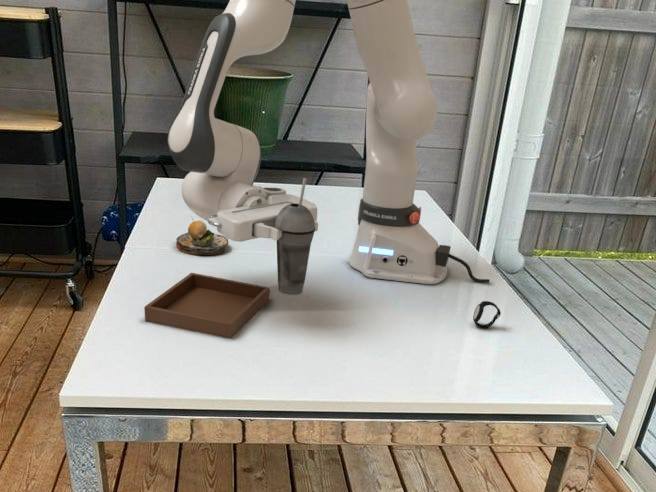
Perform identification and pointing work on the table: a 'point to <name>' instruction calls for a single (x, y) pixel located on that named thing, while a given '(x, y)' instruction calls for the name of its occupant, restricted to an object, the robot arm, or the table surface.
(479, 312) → the smartwatch
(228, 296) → the tray
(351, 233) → the table surface
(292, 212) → the beverage cup
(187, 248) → the burger
